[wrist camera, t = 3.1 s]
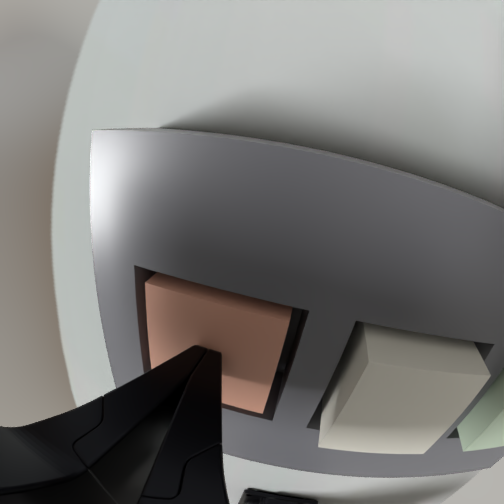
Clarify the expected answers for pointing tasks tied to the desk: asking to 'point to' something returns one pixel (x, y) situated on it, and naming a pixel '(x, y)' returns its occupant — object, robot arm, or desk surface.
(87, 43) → the desk surface
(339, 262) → the keyguard
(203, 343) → the terracotta key
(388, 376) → the cream key
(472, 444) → the sage key
